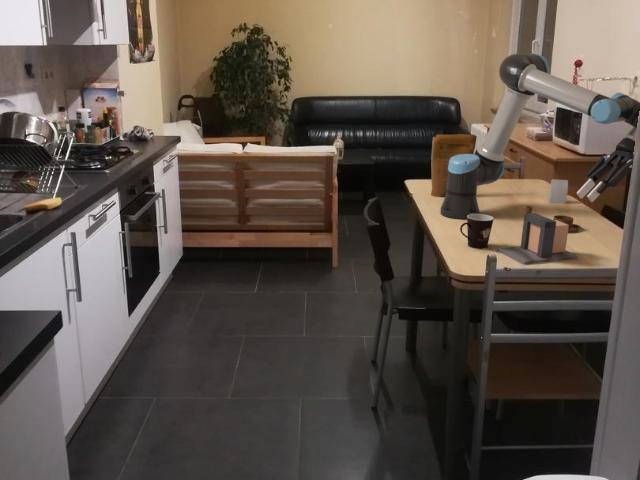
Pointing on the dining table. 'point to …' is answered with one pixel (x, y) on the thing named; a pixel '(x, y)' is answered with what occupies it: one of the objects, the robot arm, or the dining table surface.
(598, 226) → the dining table surface
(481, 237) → the coffee mug
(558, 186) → the tea bag
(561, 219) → the place setting
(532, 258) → the base board
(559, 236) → the peach box
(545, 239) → the dark grey archway
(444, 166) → the pancake mix bag
